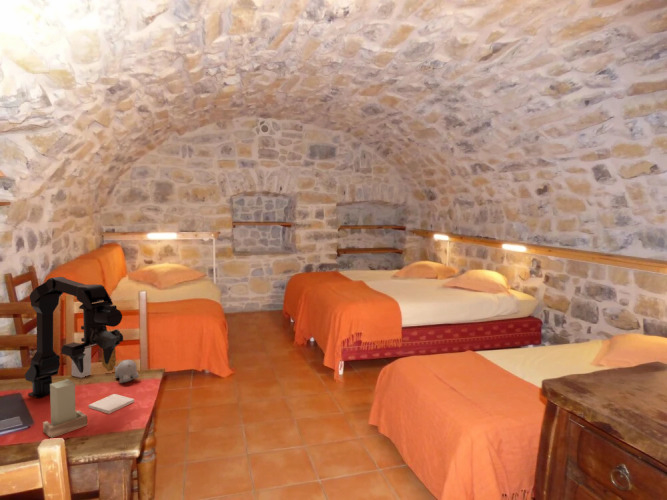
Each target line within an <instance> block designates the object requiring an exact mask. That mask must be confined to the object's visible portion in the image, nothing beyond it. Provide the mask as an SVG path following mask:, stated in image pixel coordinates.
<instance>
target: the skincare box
mask: <svg viewBox="0 0 667 500" xmlns="http://www.w3.org/2000/svg"><path fill="white" fill-rule="evenodd" d="M83 353H84V354H85V356H84V357H83V367H84V369H83V373H80V372H79V370H78V368H77V366H76V365H75V363H74V362H73V360H72V359H71V376H73V377H76V378H85V376H86V377H88V376H90V375H92V347H89V348H86V349H85V351H84V352H83Z"/></svg>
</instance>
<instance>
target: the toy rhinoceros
mask: <svg viewBox="0 0 667 500" xmlns="http://www.w3.org/2000/svg"><path fill="white" fill-rule="evenodd" d="M137 368H138V367H137V364H136V362H135V361H133V360H132V359H124V360H122V361H120V363H118V365H117V366H116V365H115V366H114V377H115V378H116V379H117V378H119V383H120V384H125V383H127V382H130V381H133V380H136V379H138V378H139V377H140V374H139V373H138V369H137Z"/></svg>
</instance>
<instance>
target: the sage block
mask: <svg viewBox="0 0 667 500" xmlns="http://www.w3.org/2000/svg"><path fill="white" fill-rule="evenodd" d="M49 396H50V397H49V398H50V401H49V402H50V424H51V425H53V426H56V425H59V424H62V423H64V422H67V421H70V420H73V419H76V411H77V409H76V384H75V382H73V381H71V380H70V379H68V378H66V379H63V380H61V381H56V382H52V384H50V394H49Z"/></svg>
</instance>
